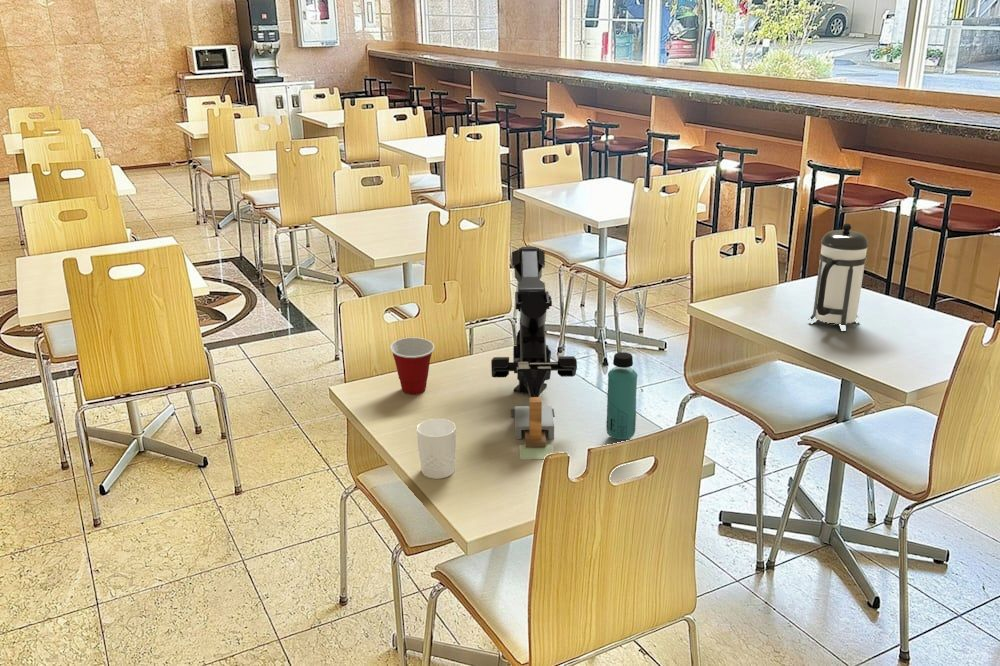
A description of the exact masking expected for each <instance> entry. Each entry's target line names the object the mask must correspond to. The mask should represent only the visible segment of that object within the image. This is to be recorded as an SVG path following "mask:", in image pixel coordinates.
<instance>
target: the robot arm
mask: <svg viewBox="0 0 1000 666" xmlns="http://www.w3.org/2000/svg"><path fill="white" fill-rule="evenodd" d="M545 253H546V251H544V250H542V249H540V247H537V246H521V247H519V248H518V249H517V250H513V251H512V252H511V270H514V278H515V279H516V281H517V282H518V283H517V291H515V292H514V304H515V306H514V307H515V310H518V312H520V314H519V329H518V331H517V334H516V339H515V340H516V341H515V345H513V351H512V352H513V353H512V356H513V358H512V362H511V361H510V357H508V356H498V357H497V356H496V357H493V358H492V359H491V362H490V364H491V370H490V371H491V377H492V378H507V377H508V376H509V374H510V372H513V374H517V375H516V377H517V380H518V384H517V385H516V386H515V387H514V388H513V392H515V393H516V392H517V393H521V394H527V395H529V397H540V394H541V393H542V392H543V391H544V389H546V387H547V386H548V384H547V383H545V382H546V381H549V380H550V379H551V374H552V371H556V372H557V375H559V376H560V377H561V378H562V377H563V378H566V377H567V378H569V377H575V376H576V375H577V370H578V368H577V367H578V362H577V361H578V360H577V357H575V356H572V355H567V356H565V355H564V356H563V355H562V356H559V355H558V358H557V361H551V356H552V350H550V348H549V345H548V344H547V343H546V340H547V339H546V321H547V313H548V312H547V311H548V310H550V307H552V306H553V301H552V296H551V295H550V292H549V291H547V290H546V284H545V282H544V281H542V280H541V278H542V275H543V274H542V273H543V269H545V267H546V259H545V258H546V255H545Z"/></svg>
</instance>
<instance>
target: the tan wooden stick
mask: <svg viewBox="0 0 1000 666" xmlns="http://www.w3.org/2000/svg"><path fill="white" fill-rule="evenodd" d="M528 401H529V405H528V406H529V430H523V431H524V445H525V447H546V445H547V441H546V440H547V439H546V430H541V426H542V406H543V403H542V402H543V401H542V397H541V396H539V397H530V396H529V400H528Z"/></svg>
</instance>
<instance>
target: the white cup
mask: <svg viewBox="0 0 1000 666" xmlns="http://www.w3.org/2000/svg"><path fill="white" fill-rule="evenodd" d="M456 433H457V426H456V424H455V423H454V422H453V421H452V420H449V419H447V418H430V419H425V420H424V421H423V420H422V421H421V422H420V423H418V425H417V426H416V435H417V445H418V446H417V448H418V452H419V453H418V455H419V461H420V469H421V471H420V472H421V473H422V474H423V476H425V477H426V478H429V479H436V480H439V479H445V478H447V477H451V476H452V474H454V473H455V464H456V463H455V459H456V447H457V446H456V445H457V443H456V441H457V435H456Z"/></svg>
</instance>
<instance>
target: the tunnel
mask: <svg viewBox="0 0 1000 666" xmlns="http://www.w3.org/2000/svg"><path fill="white" fill-rule="evenodd" d="M514 409H515V418H514V428H515V429H514V430H515V431H514V432H515V440H522V431H524V430H529V405H525V406H524V405H522V406H521V405H520V406H519V405H518V406H517V405H516V406H514ZM552 409H553V408H552V405H542V426H541V430H545V431H546V430H547V437H548V440H549V439H550V440H554V439H555V420H554V417H553V413H552Z"/></svg>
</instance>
